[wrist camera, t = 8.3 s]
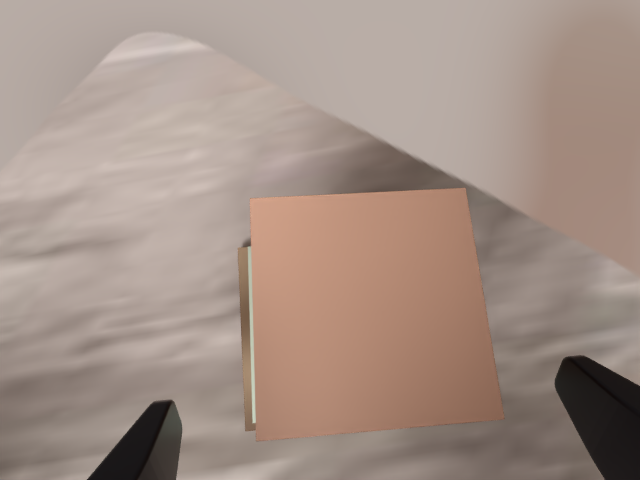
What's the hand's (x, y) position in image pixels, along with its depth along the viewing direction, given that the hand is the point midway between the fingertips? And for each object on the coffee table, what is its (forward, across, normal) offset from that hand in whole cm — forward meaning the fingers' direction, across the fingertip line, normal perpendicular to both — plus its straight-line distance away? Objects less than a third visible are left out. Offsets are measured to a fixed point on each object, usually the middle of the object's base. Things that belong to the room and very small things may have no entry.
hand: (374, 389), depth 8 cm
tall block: (+9, 0, +6) cm, 11 cm away
